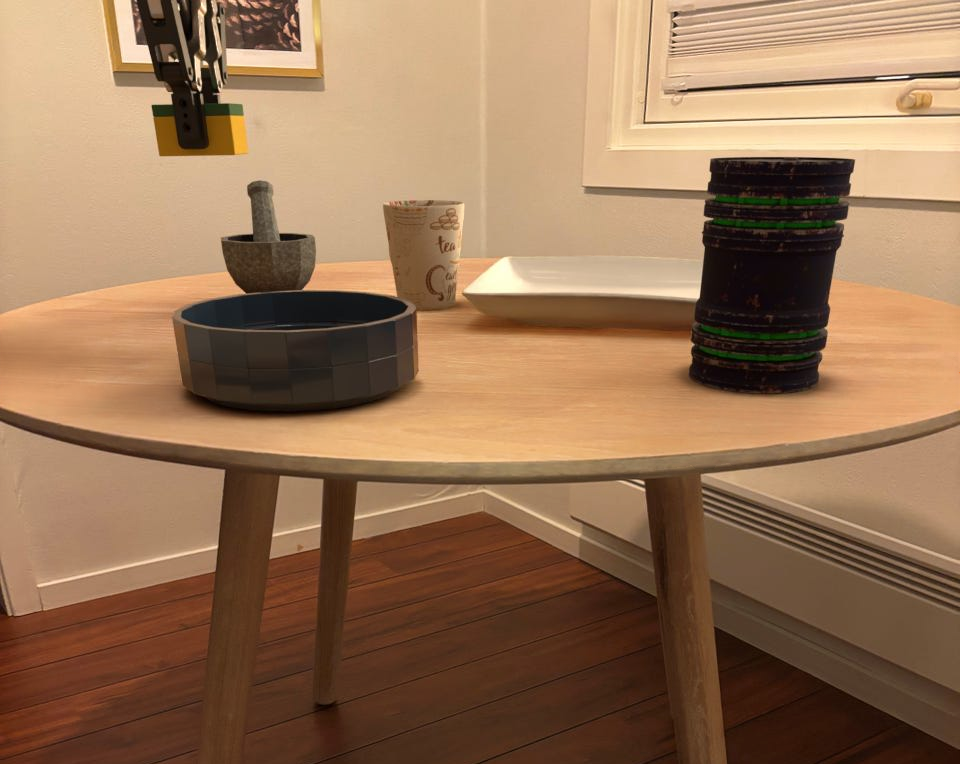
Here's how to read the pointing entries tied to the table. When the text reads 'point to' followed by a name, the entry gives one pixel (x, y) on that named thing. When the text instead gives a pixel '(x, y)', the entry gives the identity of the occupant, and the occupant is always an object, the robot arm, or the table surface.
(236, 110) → the sponge
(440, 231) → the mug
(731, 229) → the storage jar
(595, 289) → the square plate
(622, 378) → the table surface
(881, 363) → the table surface
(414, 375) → the bowl
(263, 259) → the mortar and pestle
